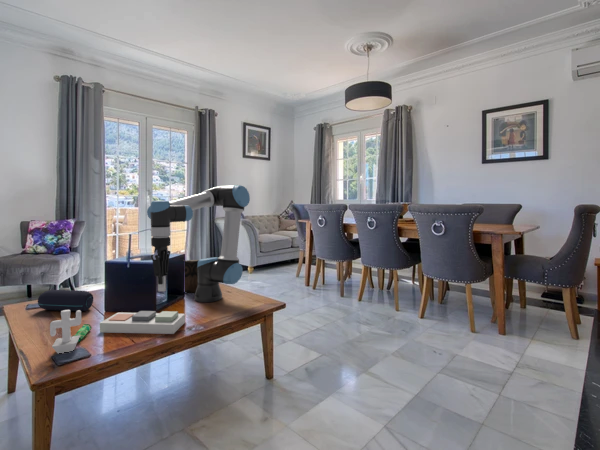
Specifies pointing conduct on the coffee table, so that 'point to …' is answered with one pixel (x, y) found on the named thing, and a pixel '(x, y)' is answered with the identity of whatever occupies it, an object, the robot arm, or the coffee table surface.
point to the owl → (191, 276)
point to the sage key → (166, 316)
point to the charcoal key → (144, 316)
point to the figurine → (65, 332)
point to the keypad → (141, 325)
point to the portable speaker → (65, 300)
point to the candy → (83, 331)
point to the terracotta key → (121, 317)
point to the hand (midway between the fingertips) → (161, 290)
